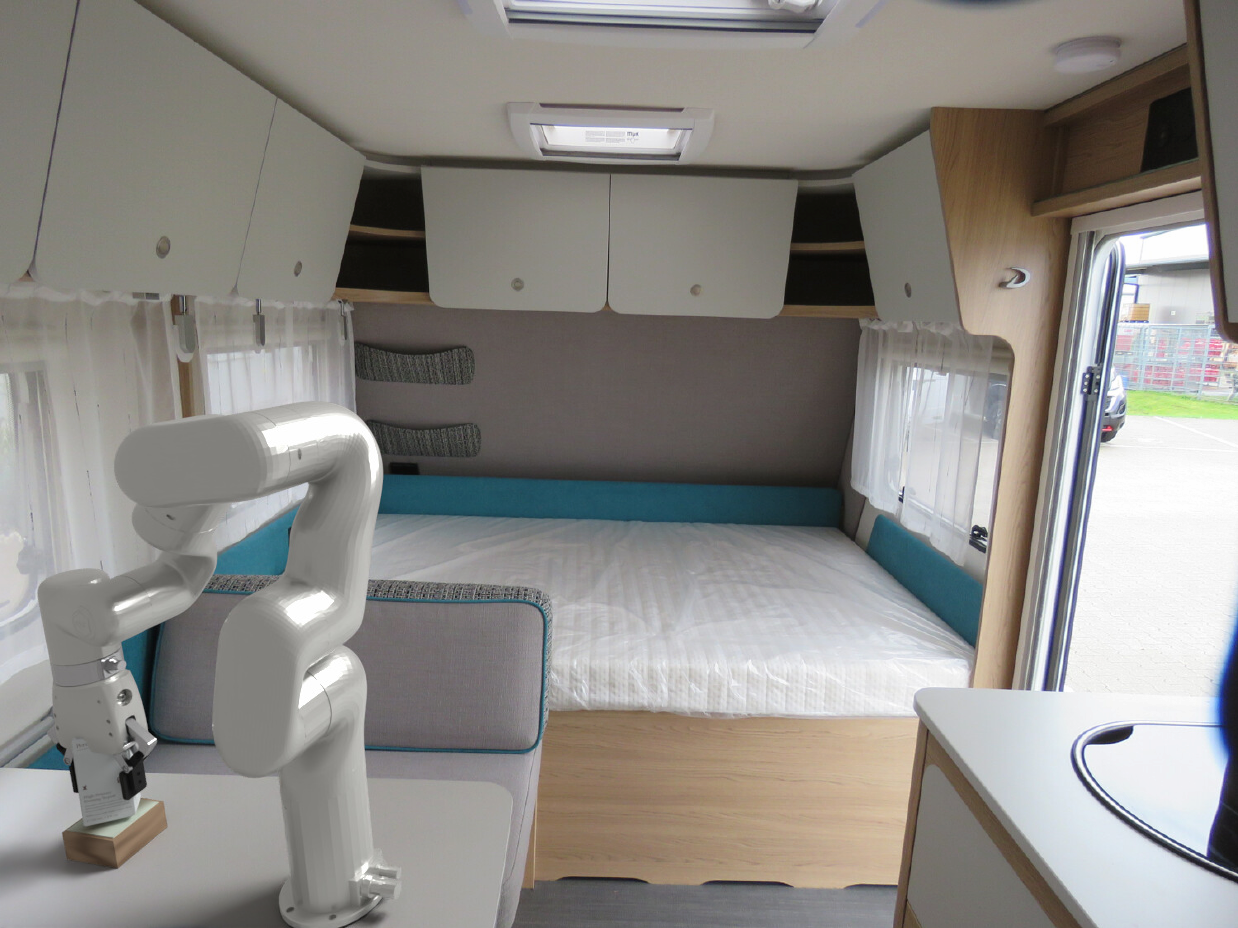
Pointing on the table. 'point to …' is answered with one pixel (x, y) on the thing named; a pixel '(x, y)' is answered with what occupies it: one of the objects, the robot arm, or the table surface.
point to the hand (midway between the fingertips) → (110, 789)
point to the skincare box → (100, 785)
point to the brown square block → (115, 836)
